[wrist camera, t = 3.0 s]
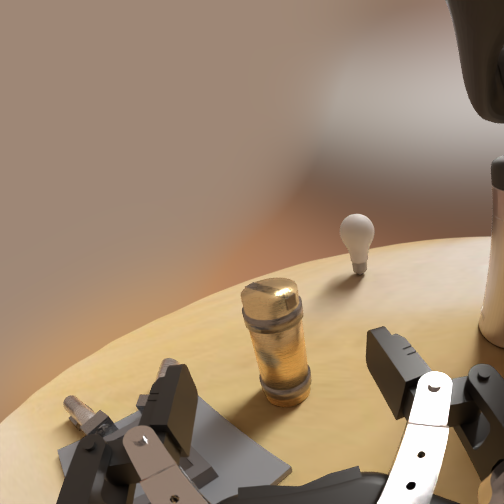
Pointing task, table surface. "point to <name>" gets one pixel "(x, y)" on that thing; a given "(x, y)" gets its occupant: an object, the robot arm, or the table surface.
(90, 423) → the shaft
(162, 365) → the shaft
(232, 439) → the stand
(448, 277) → the table surface
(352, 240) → the lightbulb
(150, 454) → the robot arm
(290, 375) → the gold cylindrical piece
